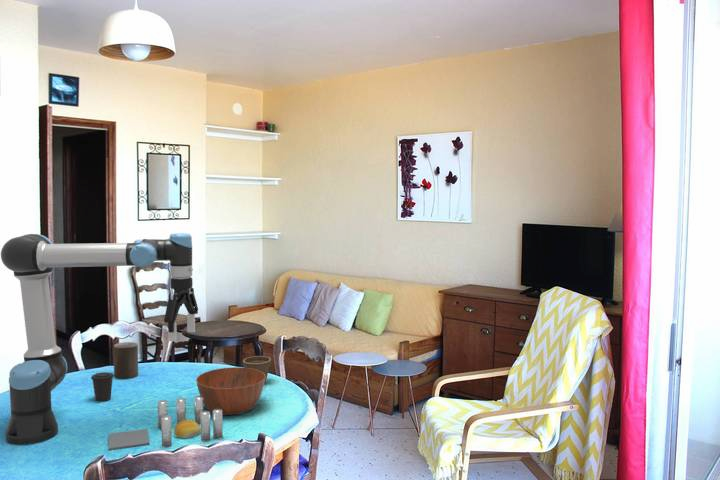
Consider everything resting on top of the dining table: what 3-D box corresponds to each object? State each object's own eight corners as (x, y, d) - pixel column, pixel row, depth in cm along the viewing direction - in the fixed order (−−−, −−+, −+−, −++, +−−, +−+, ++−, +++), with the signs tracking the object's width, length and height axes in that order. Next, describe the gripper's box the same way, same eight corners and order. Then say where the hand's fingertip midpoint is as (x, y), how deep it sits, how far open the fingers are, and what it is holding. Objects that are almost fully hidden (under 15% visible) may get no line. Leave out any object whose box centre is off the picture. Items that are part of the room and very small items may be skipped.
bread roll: (175, 441, 197) (175, 429, 196) (173, 430, 205) (173, 418, 205) (201, 437, 199) (201, 425, 199) (199, 427, 208) (198, 415, 207)
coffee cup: (92, 396, 236) (91, 371, 235) (115, 394, 238) (114, 369, 237) (90, 404, 228) (89, 377, 227) (113, 401, 230) (113, 375, 230)
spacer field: (162, 447, 191) (161, 419, 190) (158, 426, 207) (157, 400, 207) (223, 438, 198) (223, 411, 197) (214, 418, 215) (214, 394, 214)
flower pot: (237, 384, 252) (237, 360, 251) (256, 377, 261) (256, 354, 260) (257, 389, 246) (257, 365, 245) (276, 382, 255) (276, 358, 254)
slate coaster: (108, 450, 189) (108, 448, 189) (108, 435, 200) (108, 433, 200) (149, 444, 193) (149, 442, 193) (147, 430, 204) (147, 428, 204)
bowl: (183, 407, 225) (182, 377, 224) (239, 391, 243) (239, 363, 242) (222, 426, 208) (222, 393, 207) (279, 407, 226) (279, 377, 225)
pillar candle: (123, 381, 255) (123, 345, 253) (109, 376, 260) (108, 342, 259) (143, 375, 263) (142, 341, 261) (128, 371, 268) (128, 337, 267)
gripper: (173, 283, 203) (174, 345, 204) (207, 272, 227) (207, 328, 229) (152, 282, 204) (153, 344, 206) (188, 271, 228) (189, 327, 230)
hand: (182, 336), depth 217 cm, fingers open, 13 cm apart
